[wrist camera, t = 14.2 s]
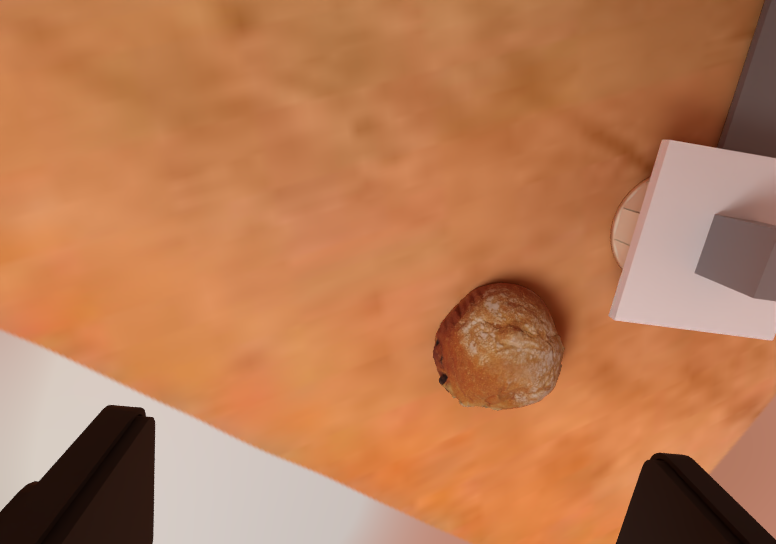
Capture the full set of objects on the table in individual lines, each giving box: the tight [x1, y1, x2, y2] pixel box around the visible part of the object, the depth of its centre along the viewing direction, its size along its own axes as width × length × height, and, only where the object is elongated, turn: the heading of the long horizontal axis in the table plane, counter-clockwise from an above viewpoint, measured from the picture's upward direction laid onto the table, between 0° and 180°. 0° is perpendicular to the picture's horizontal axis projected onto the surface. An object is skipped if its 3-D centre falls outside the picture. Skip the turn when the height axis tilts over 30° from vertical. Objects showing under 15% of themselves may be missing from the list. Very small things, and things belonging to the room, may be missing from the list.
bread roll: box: [433, 283, 565, 410], centre depth 38 cm, size 10×10×8 cm
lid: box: [609, 140, 776, 341], centre depth 30 cm, size 12×12×6 cm
